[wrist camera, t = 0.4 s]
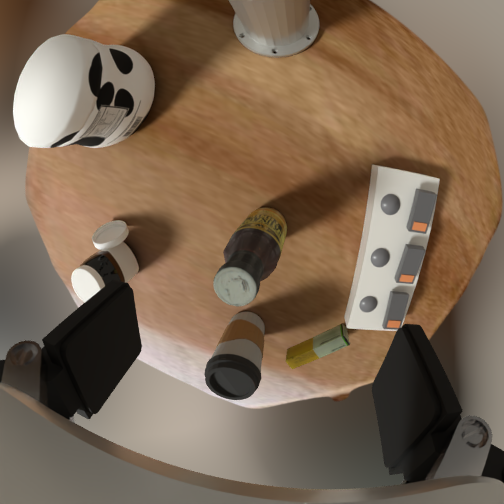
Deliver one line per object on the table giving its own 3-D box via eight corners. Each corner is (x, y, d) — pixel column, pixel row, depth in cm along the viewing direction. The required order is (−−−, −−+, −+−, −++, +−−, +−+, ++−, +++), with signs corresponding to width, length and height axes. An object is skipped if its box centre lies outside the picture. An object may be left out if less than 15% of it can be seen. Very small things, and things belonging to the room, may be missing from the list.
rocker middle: (405, 243, 35) (408, 248, 34) (422, 246, 35) (426, 250, 33) (394, 277, 38) (396, 283, 37) (410, 279, 38) (413, 284, 37)
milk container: (92, 58, 35) (22, 44, 19) (171, 48, 34) (105, 11, 17) (79, 144, 42) (5, 157, 25) (154, 148, 41) (78, 159, 24)
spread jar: (116, 284, 52) (83, 314, 41) (89, 236, 49) (50, 259, 38) (157, 264, 48) (123, 296, 38) (126, 209, 45) (85, 229, 35)
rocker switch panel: (372, 164, 36) (378, 166, 33) (429, 175, 35) (440, 179, 32) (344, 316, 46) (346, 328, 43) (394, 319, 45) (400, 331, 42)
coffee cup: (238, 346, 52) (219, 404, 39) (217, 312, 50) (190, 369, 36) (277, 335, 50) (268, 397, 36) (258, 299, 48) (242, 359, 34)
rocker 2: (416, 188, 32) (419, 191, 31) (433, 191, 32) (437, 195, 30) (406, 227, 35) (409, 231, 34) (423, 230, 35) (426, 234, 34)
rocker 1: (390, 291, 39) (393, 294, 38) (406, 292, 39) (409, 295, 37) (382, 325, 40) (384, 329, 39) (398, 326, 40) (400, 330, 39)
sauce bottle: (292, 211, 41) (286, 267, 23) (281, 248, 44) (267, 326, 25) (249, 199, 41) (210, 246, 23) (240, 238, 44) (200, 306, 26)
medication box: (342, 321, 47) (345, 334, 43) (348, 331, 48) (351, 345, 44) (286, 348, 51) (284, 361, 47) (293, 356, 52) (292, 370, 48)
